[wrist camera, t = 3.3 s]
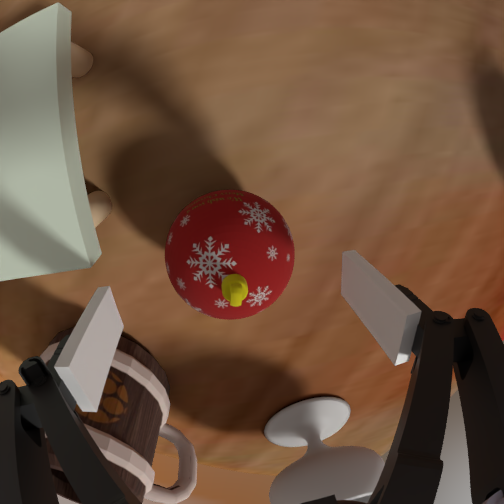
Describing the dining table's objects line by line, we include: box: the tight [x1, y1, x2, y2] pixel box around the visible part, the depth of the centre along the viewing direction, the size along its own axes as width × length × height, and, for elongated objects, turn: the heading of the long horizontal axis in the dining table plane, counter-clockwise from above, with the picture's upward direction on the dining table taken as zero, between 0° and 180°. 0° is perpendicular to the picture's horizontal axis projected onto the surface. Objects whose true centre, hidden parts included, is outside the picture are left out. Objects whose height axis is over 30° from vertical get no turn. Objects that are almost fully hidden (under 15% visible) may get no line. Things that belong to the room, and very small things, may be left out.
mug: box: [40, 327, 197, 504], centre depth 23 cm, size 20×15×15 cm
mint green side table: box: [0, 2, 112, 281], centre depth 15 cm, size 16×16×8 cm
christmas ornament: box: [165, 190, 294, 319], centre depth 20 cm, size 9×9×10 cm
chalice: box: [264, 397, 385, 504], centre depth 29 cm, size 14×14×15 cm
